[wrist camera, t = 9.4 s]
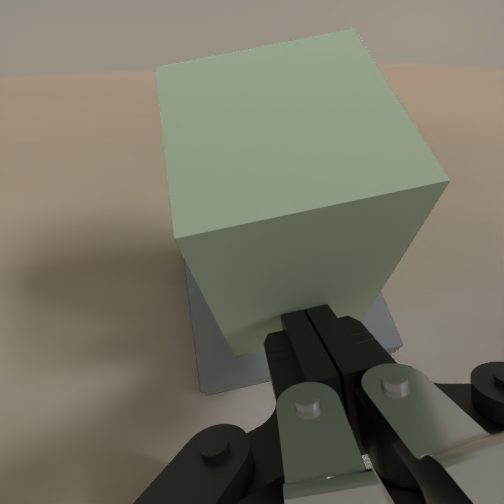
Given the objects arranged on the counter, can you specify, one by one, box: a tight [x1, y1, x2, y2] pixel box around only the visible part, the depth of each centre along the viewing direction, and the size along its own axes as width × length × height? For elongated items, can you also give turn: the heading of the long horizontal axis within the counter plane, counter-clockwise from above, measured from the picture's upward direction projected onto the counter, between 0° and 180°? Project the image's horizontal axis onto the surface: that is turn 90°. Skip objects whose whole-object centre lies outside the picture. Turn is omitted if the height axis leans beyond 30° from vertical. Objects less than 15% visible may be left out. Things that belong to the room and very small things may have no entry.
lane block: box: [155, 28, 450, 396], centre depth 12 cm, size 8×7×10 cm
